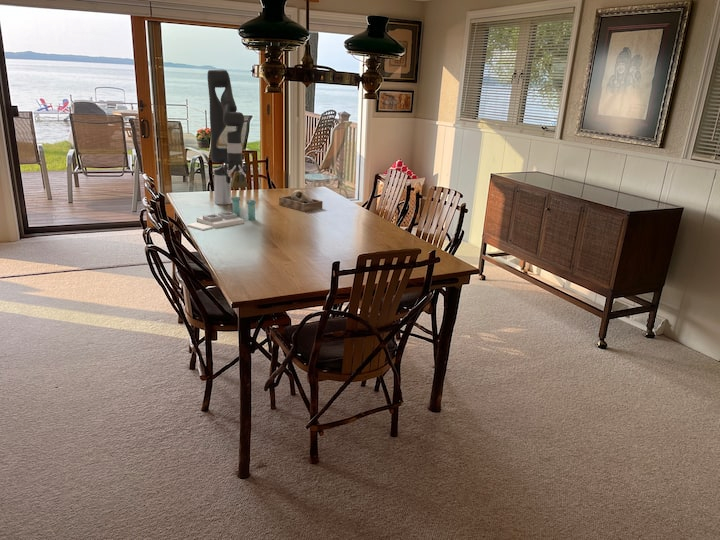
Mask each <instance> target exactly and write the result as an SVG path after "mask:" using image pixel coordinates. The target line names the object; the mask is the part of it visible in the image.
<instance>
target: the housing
mask: <svg viewBox="0 0 720 540" xmlns="http://www.w3.org/2000/svg"><path fill="white" fill-rule="evenodd" d="M197 221H198V222H197ZM196 222H197V223H201V224H205V225H208V226H212V227H213V229H214V228H215V229H217V228H219V229H220V228H224V227H229V226H234V225H236V226H237V225H240V224H244V223H245V221H244V218H242V217H239V216H238V217H237V214H235V213H233V211H232V212H231V211H224V212H218V213H217V214H216V213H213V214H206V215H202V216H197V217H196Z"/></svg>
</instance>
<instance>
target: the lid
mask: <svg viewBox="0 0 720 540" xmlns="http://www.w3.org/2000/svg"><path fill="white" fill-rule="evenodd" d="M186 226H187V227H189V228H193V229H196V230H200V231H206V230H212V229H214V227H212V226H208V225H206V224H203V223H200V222H197V221H196V222H192V223H187V224H186Z"/></svg>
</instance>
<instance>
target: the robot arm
mask: <svg viewBox="0 0 720 540" xmlns="http://www.w3.org/2000/svg"><path fill="white" fill-rule="evenodd" d="M207 86H208V96H209V97H208V98H209V124H210V126H209V127H210V158H211V162H212V163H214V164H215V163H222V164H221V165H222V166H219V167H216V168H215V169H214V170H213V175H214V176H213V177H214V187H213V191H214V192H213V193H214V196H213V197H214V203H215V204H216V205H222V206H224V205H225V206H226V205H231V204H232V200H231V197H232V187H231V181H232V179H231V177H232V176H231V174H233V172H235V171H239V173H240V174H241V175H240V181H241V182H244V176H245V175H246V174H248V163H247V162H245V161H243V148H242V147H243V146H242V131H243V128H244V123H245V116H244V114H243V113H242V112H239V111H238V110H237V109H238V108H237V105H236V102H235V99H234V95H233V89H232V84H231V79H230V75H229V72H228V71H227V70H226V69H214V68H213V69H212V68H211V69H208V71H207ZM216 88H217V89H219V88H224V90H223V92H222V93H221V96H220V99H219V96H218V95H217V92H216ZM226 127H235V129H233V130H229V131H227V134H226V135H227V136H226V139H227V146H219V145H218V146H217V144H218V142H219V139H220V137H221V135H222V134H223V132H224V131H225V130H226Z"/></svg>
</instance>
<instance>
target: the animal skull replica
mask: <svg viewBox="0 0 720 540" xmlns="http://www.w3.org/2000/svg"><path fill="white" fill-rule="evenodd" d="M290 194H291V195H290V196H291V199H292V200H293V201H297V202H301V203H305V204H306V203H312V202H313V200H312V199H313V198H311V196H310V194H309V193H308V192H307V191H306V190H304V189H303V190H302V189H295V190H293V191H292V193H290Z"/></svg>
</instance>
